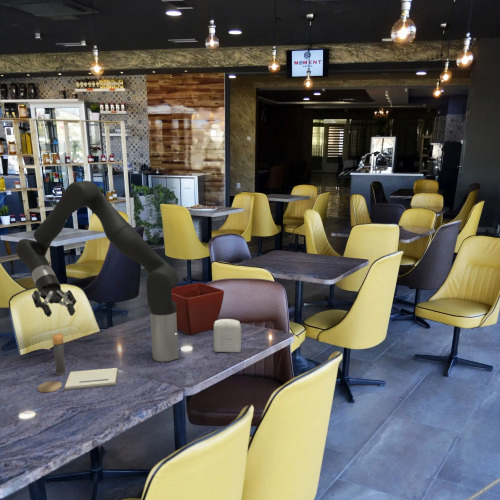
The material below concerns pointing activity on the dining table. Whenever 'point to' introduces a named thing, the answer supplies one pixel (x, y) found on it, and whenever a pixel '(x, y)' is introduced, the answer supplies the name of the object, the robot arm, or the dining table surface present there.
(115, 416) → the dining table surface
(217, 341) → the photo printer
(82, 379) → the notepad
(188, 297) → the plant pot
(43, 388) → the coaster
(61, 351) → the marker
